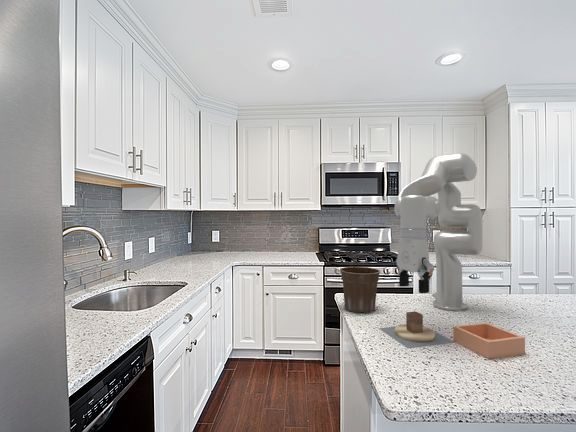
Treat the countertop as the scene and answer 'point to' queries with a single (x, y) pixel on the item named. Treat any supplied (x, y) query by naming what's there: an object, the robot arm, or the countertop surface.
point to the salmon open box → (489, 340)
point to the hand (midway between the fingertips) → (413, 289)
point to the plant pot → (360, 288)
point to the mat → (410, 344)
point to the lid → (414, 329)
